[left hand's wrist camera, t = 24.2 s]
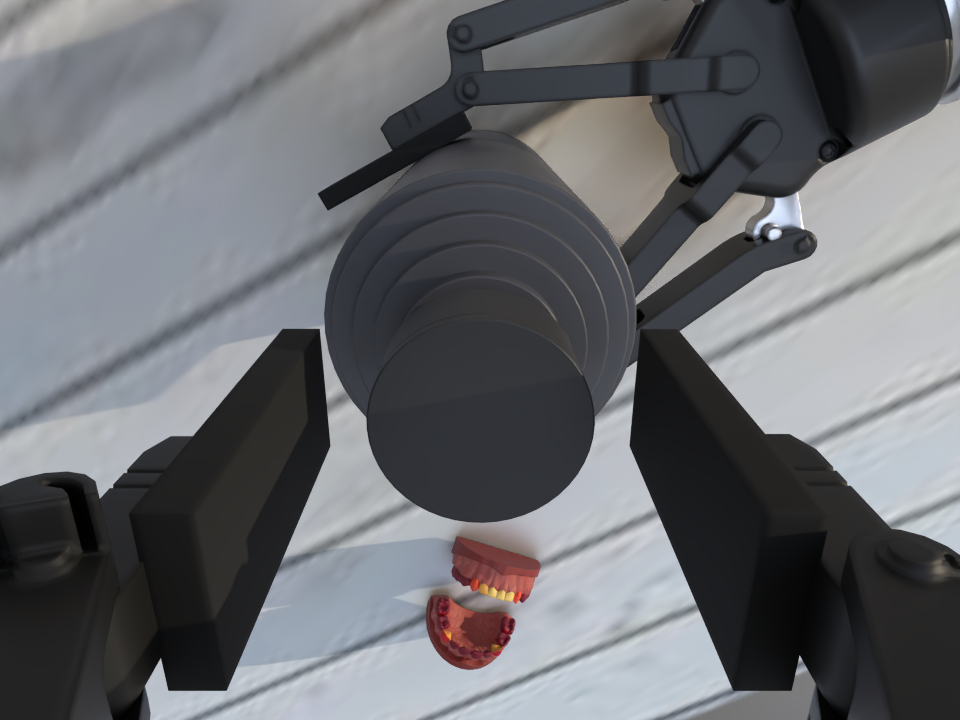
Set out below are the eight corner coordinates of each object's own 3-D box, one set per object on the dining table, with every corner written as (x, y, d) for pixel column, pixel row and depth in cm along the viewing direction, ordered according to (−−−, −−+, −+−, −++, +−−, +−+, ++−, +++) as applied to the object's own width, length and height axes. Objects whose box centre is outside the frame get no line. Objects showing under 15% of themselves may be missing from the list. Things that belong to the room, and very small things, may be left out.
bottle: (455, 320, 37) (421, 633, 15) (367, 188, 34) (182, 344, 13) (589, 241, 35) (757, 468, 14) (508, 95, 33) (561, 101, 11)
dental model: (552, 591, 38) (501, 690, 41) (548, 545, 42) (501, 638, 45) (458, 560, 37) (413, 663, 40) (463, 516, 41) (421, 612, 44)
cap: (417, 490, 15) (408, 544, 14) (352, 319, 14) (333, 354, 12) (599, 444, 15) (616, 493, 13) (553, 262, 14) (565, 290, 12)
